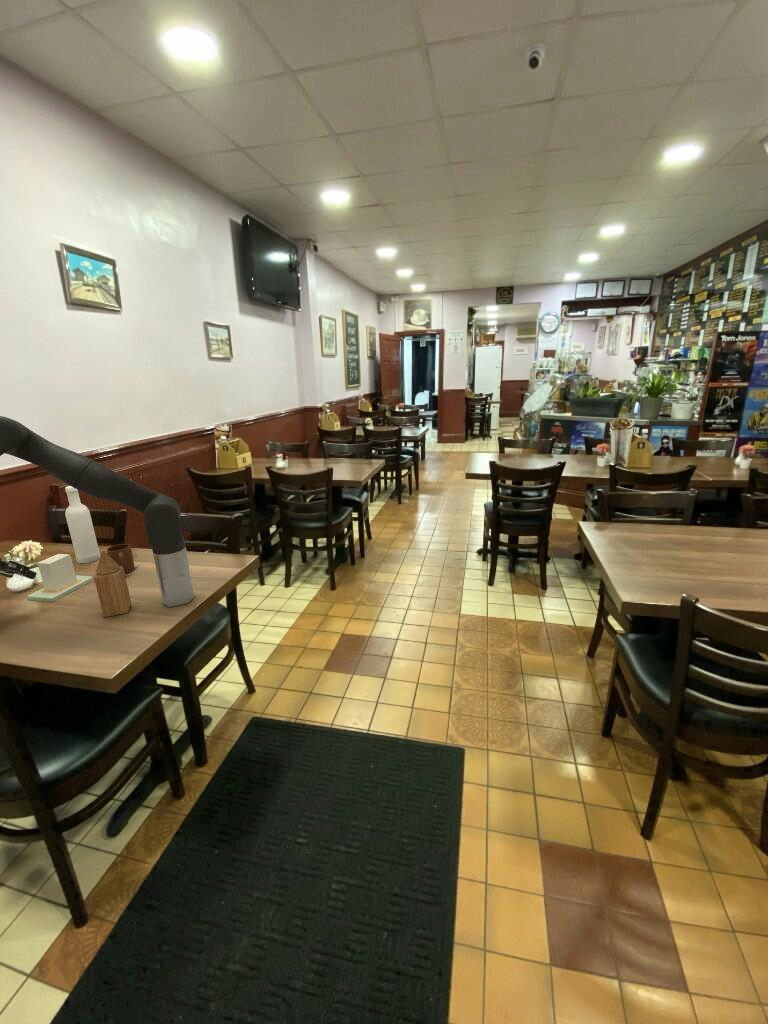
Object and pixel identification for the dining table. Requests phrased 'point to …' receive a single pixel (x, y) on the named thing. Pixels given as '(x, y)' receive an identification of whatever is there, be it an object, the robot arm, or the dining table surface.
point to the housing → (57, 572)
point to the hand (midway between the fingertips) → (23, 575)
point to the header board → (54, 595)
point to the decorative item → (112, 587)
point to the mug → (122, 556)
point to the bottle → (81, 528)
